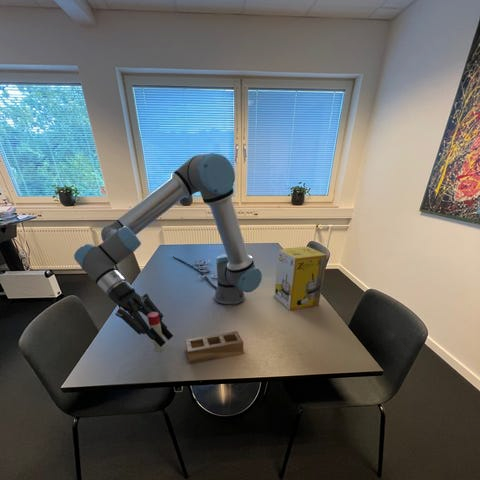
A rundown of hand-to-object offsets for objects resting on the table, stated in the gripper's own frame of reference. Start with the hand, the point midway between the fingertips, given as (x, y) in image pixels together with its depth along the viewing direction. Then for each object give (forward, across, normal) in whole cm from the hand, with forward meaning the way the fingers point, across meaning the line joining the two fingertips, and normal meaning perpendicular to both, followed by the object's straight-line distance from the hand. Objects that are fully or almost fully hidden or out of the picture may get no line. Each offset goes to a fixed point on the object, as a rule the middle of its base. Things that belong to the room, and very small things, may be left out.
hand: (167, 341), depth 86 cm
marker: (+1, 0, +6) cm, 6 cm away
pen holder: (+14, +10, -2) cm, 18 cm away
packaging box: (+28, +65, -15) cm, 72 cm away
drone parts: (-15, +90, +28) cm, 95 cm away
